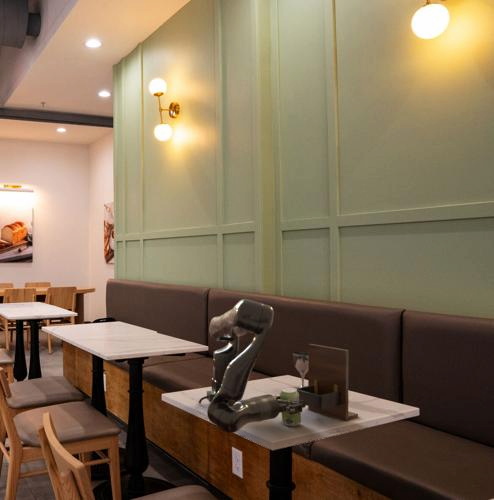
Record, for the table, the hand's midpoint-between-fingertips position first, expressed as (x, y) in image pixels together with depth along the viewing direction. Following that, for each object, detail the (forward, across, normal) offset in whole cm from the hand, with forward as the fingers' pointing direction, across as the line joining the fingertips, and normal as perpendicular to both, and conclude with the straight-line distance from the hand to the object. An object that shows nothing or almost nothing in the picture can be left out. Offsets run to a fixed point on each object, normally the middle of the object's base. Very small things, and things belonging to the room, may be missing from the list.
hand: (294, 400), depth 172 cm
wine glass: (+42, +28, +8) cm, 51 cm away
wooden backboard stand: (+16, 0, +7) cm, 17 cm away
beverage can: (-2, 0, +8) cm, 8 cm away
